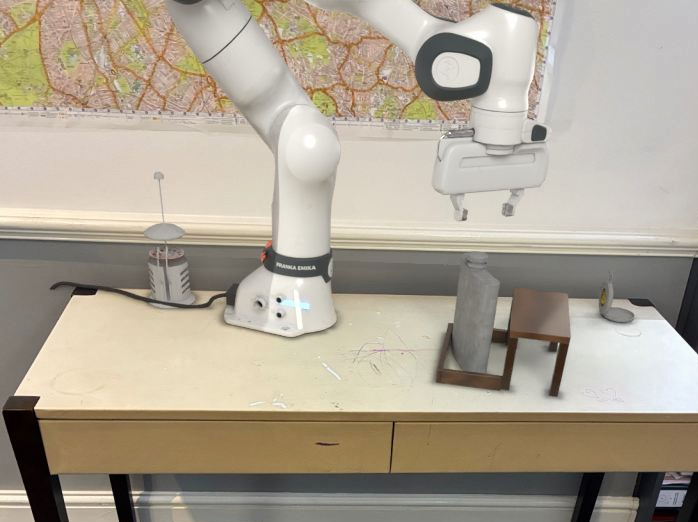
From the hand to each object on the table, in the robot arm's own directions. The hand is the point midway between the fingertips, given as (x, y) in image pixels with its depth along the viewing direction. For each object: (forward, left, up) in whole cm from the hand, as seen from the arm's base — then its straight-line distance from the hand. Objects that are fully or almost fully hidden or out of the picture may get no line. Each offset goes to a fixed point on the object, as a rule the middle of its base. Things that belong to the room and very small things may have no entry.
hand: (484, 217), depth 131 cm
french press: (-62, +11, -26) cm, 68 cm away
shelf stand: (+7, 0, -26) cm, 27 cm away
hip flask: (0, 0, -26) cm, 26 cm away
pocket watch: (+29, +30, -26) cm, 49 cm away
